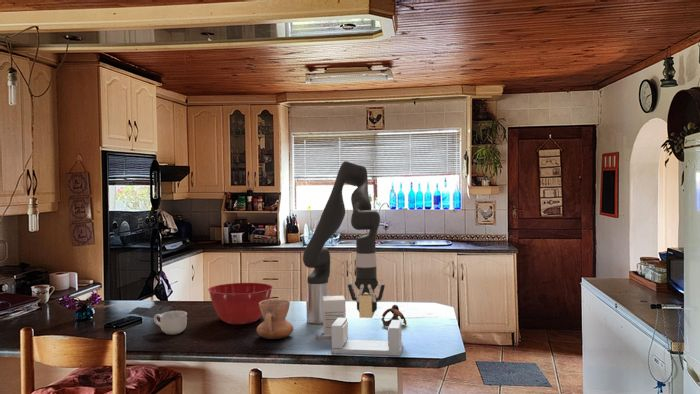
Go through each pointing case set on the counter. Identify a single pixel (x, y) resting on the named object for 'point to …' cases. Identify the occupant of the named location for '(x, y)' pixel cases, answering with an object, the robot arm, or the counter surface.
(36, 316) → the counter surface
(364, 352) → the vise
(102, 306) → the counter surface
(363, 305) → the block
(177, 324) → the teacup
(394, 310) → the dark brown curved loop
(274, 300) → the ceramic jug
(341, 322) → the jaw
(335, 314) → the supplement box
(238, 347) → the counter surface
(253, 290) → the mixing bowl
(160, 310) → the dark slate chunk
